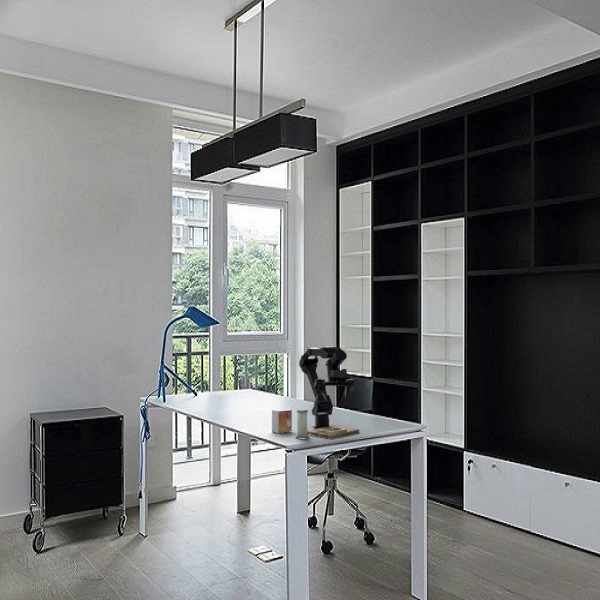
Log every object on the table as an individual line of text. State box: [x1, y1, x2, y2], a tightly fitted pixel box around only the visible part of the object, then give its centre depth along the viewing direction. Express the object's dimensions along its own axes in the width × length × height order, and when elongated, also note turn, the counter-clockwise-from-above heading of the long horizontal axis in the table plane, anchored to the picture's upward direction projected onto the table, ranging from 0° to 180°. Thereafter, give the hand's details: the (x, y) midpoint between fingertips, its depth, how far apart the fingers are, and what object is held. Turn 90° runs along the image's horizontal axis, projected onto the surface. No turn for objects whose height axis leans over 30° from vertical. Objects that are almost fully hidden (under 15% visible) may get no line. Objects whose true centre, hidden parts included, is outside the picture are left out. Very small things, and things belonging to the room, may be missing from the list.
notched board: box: [307, 424, 360, 439], centre depth 315 cm, size 16×20×2 cm
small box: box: [271, 408, 293, 434], centre depth 320 cm, size 8×6×10 cm
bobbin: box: [294, 408, 311, 439], centre depth 305 cm, size 6×6×12 cm
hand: (336, 400), depth 309 cm, fingers open, 9 cm apart
